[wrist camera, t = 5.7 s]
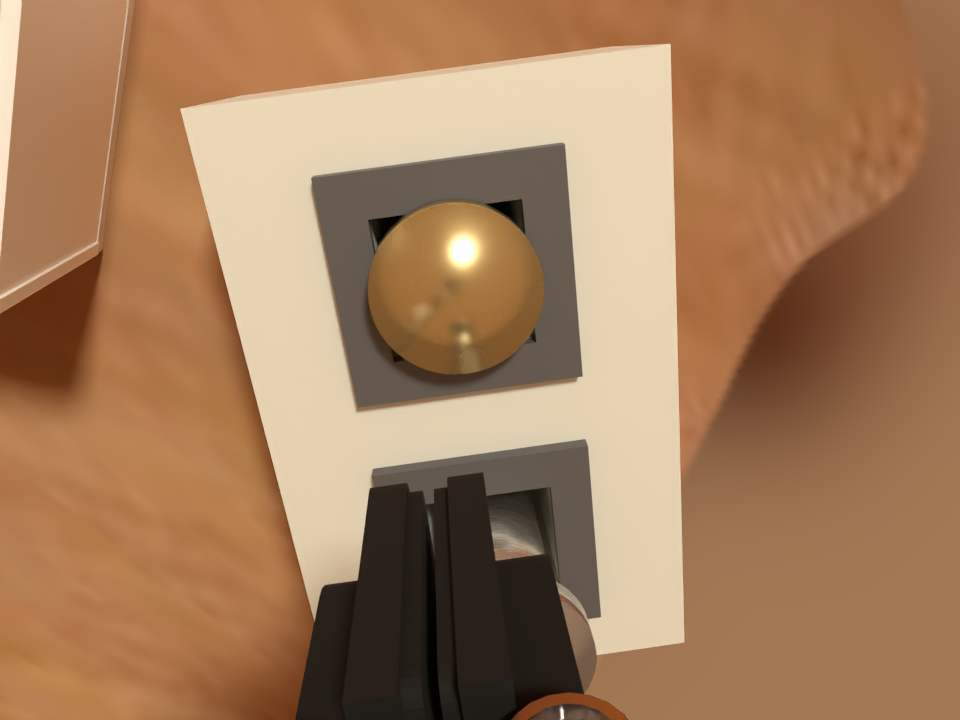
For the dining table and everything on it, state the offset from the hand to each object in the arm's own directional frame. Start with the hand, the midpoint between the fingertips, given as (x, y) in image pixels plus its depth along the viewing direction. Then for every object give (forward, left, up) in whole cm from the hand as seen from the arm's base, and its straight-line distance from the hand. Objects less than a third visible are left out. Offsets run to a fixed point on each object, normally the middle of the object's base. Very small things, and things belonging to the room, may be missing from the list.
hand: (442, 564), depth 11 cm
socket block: (-5, -1, -21) cm, 22 cm away
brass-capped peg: (0, -1, -20) cm, 20 cm away
